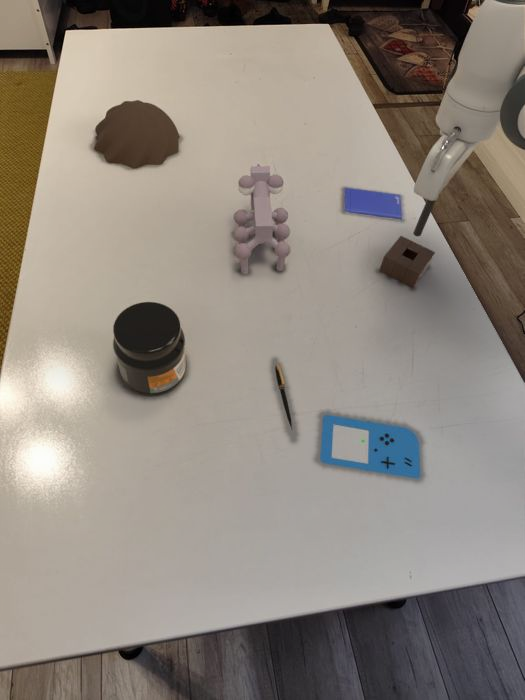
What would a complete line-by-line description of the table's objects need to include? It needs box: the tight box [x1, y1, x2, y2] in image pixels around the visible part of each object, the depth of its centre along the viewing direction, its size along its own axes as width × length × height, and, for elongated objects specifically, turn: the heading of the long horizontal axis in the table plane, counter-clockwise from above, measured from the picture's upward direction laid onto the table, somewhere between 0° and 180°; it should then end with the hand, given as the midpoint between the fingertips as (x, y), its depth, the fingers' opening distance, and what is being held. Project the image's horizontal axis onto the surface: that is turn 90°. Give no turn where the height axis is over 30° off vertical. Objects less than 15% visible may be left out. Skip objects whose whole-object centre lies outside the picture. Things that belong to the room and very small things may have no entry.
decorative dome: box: [93, 99, 180, 170], centre depth 116 cm, size 19×20×10 cm
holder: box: [378, 235, 436, 290], centre depth 101 cm, size 7×7×5 cm
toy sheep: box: [233, 163, 292, 275], centre depth 99 cm, size 20×11×14 cm, turn 3°
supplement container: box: [112, 301, 187, 397], centre depth 79 cm, size 10×10×12 cm
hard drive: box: [343, 187, 403, 221], centre depth 113 cm, size 2×8×12 cm
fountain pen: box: [274, 364, 294, 430], centre depth 82 cm, size 14×1×2 cm, turn 11°
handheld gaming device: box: [319, 414, 421, 479], centre depth 79 cm, size 8×1×15 cm
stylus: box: [413, 199, 437, 237], centre depth 89 cm, size 1×1×13 cm
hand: (435, 193), depth 87 cm, fingers closed on stylus, 1 cm apart
